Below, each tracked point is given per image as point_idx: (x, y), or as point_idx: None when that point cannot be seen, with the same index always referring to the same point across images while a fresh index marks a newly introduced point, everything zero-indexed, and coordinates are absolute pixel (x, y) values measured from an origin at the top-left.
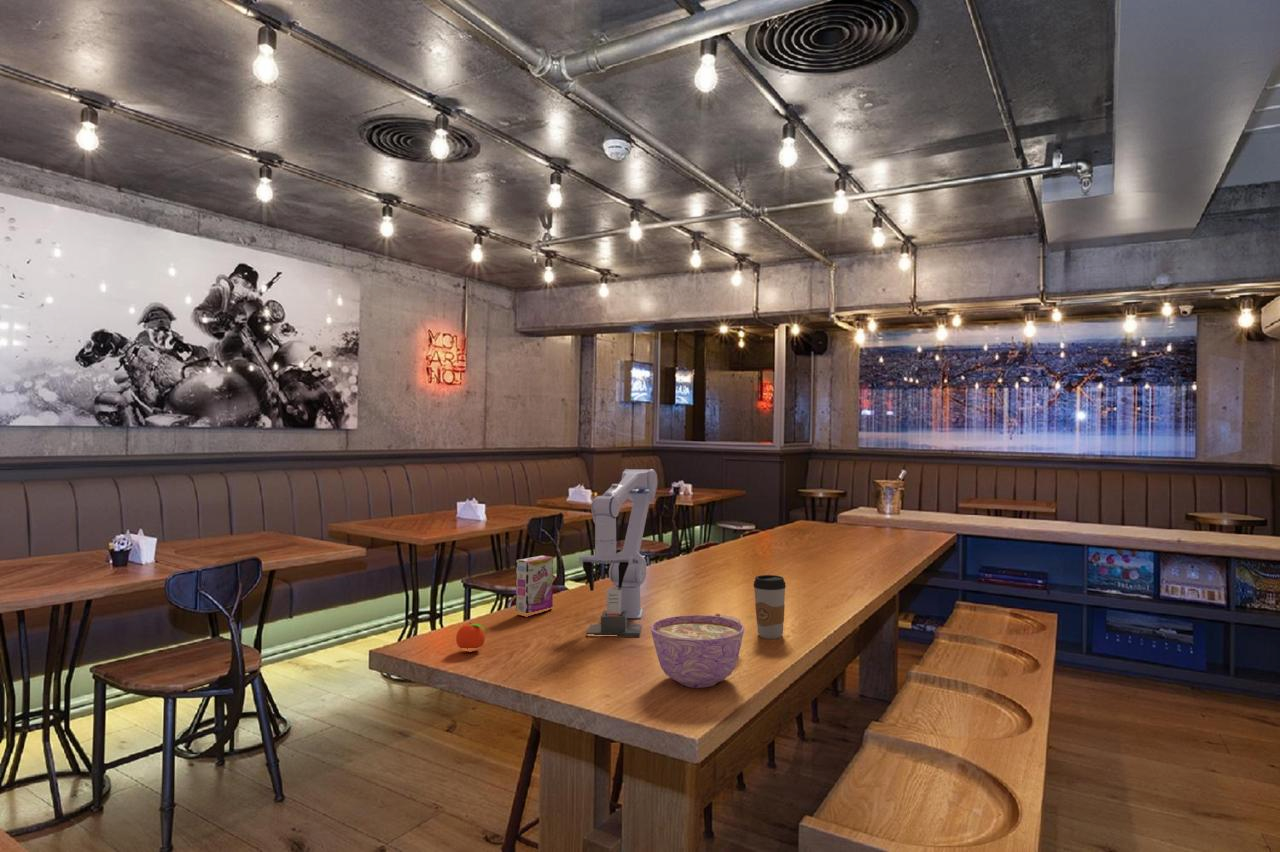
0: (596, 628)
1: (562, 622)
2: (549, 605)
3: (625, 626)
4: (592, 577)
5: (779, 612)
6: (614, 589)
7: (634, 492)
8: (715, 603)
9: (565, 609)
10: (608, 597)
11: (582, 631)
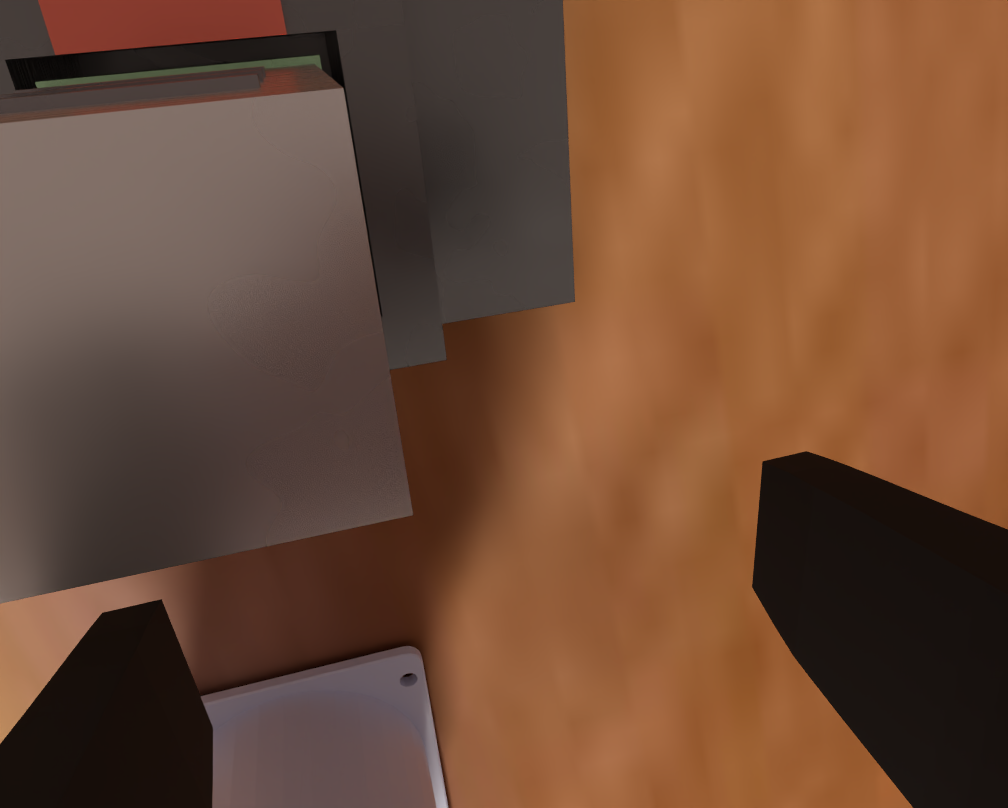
0: (471, 140)
1: (844, 431)
2: None
3: None
4: (979, 742)
5: None
6: (61, 241)
7: None
8: None
9: (839, 748)
10: (270, 81)
11: (626, 153)
